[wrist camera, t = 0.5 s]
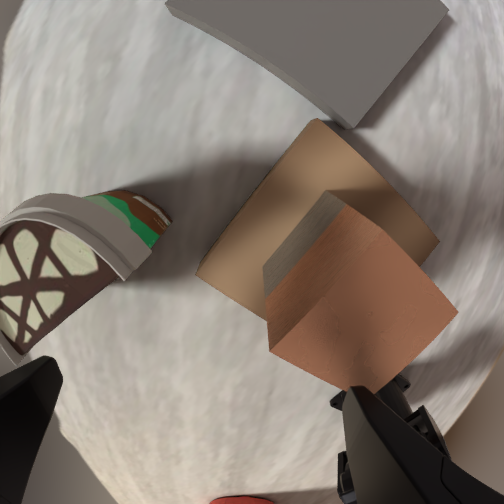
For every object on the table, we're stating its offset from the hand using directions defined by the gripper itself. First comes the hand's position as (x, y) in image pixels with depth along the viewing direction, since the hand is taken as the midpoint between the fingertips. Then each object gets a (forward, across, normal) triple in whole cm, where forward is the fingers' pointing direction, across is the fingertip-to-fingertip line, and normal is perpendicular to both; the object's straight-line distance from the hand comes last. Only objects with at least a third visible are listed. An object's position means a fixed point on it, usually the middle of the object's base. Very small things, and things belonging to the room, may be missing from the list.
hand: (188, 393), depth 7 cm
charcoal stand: (+13, -5, -18) cm, 23 cm away
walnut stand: (+13, -6, 0) cm, 15 cm away
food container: (+13, +9, -1) cm, 16 cm away
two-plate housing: (+11, -6, 0) cm, 13 cm away
